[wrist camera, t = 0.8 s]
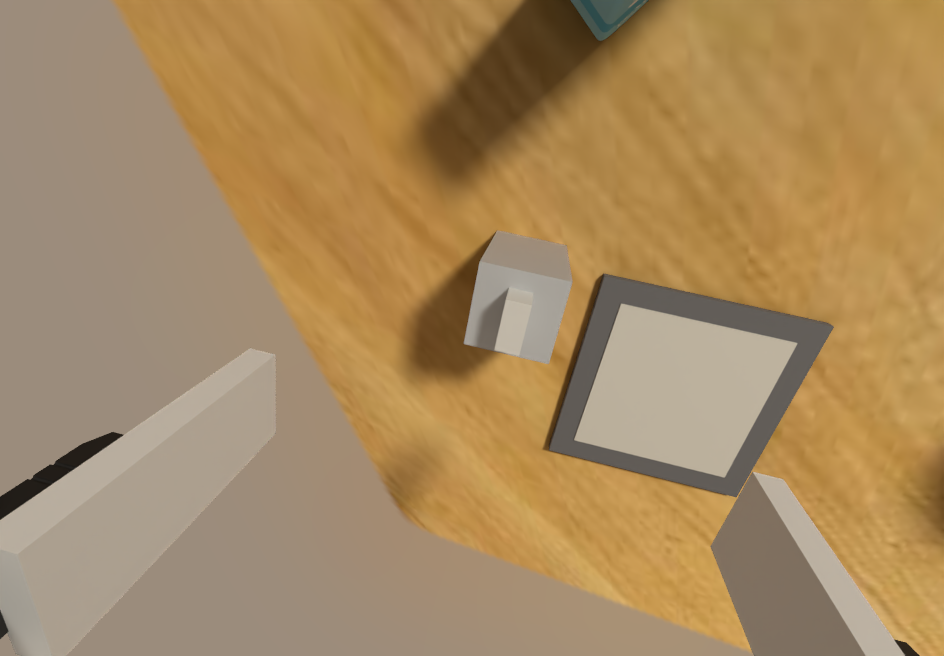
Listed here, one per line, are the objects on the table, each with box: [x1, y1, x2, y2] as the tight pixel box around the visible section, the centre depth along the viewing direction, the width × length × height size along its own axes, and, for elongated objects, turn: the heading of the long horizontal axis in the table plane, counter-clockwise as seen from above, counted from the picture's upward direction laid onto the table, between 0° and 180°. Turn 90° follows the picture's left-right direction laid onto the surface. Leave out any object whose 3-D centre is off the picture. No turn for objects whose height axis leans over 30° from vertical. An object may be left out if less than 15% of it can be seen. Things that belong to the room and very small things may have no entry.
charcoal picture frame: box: [549, 274, 833, 497], centre depth 31 cm, size 14×14×1 cm
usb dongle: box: [464, 230, 572, 364], centre depth 25 cm, size 4×4×10 cm
